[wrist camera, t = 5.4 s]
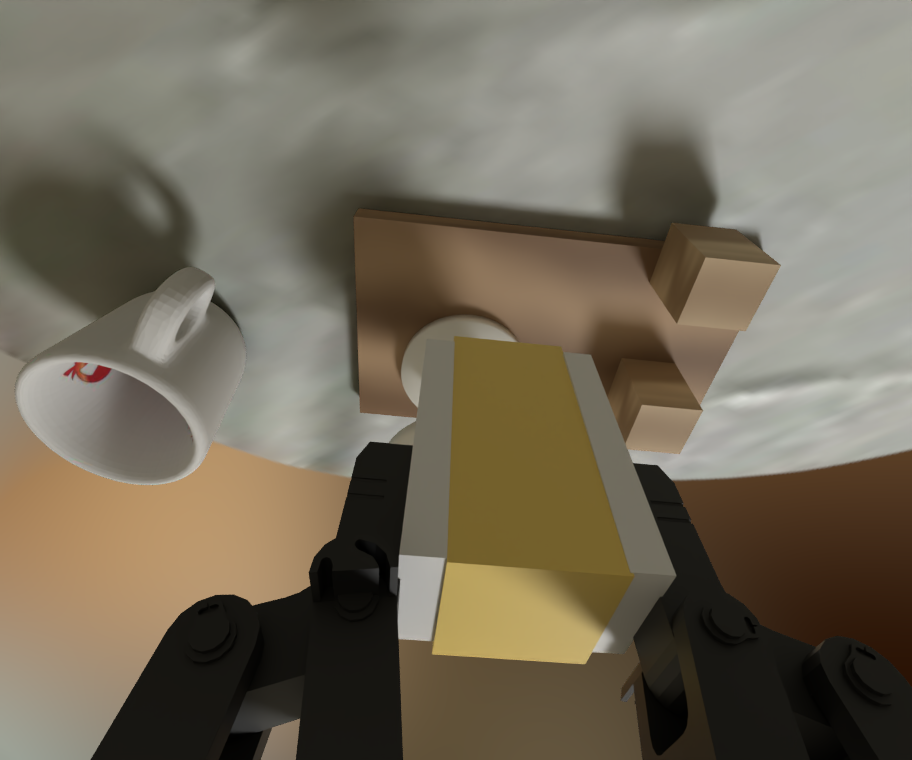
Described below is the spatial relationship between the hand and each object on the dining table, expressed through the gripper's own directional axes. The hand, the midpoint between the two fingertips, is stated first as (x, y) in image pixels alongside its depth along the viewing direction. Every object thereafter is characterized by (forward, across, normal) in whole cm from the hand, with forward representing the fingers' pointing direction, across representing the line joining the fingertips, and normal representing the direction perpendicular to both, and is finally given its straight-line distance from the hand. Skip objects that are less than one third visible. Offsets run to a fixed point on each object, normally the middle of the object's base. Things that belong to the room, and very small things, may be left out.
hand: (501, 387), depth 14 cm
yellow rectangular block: (0, 0, 0) cm, 0 cm away
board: (+12, +4, -5) cm, 14 cm away
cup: (+13, -15, -6) cm, 21 cm away
